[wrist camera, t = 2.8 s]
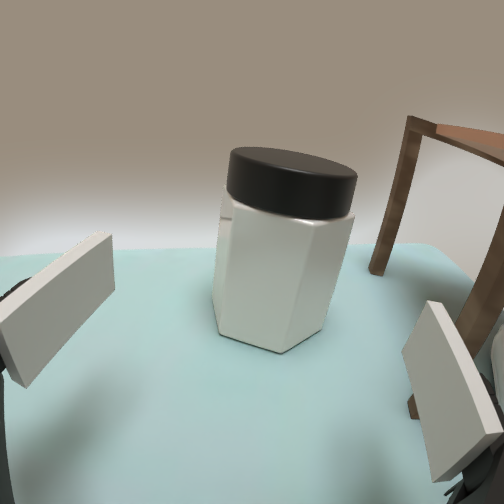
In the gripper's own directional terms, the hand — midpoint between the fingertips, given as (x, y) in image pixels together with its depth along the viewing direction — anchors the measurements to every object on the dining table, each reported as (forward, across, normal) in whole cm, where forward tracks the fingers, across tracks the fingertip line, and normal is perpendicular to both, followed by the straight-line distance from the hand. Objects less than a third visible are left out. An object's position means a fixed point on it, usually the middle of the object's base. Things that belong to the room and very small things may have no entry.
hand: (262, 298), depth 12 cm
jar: (+10, 0, -8) cm, 13 cm away
